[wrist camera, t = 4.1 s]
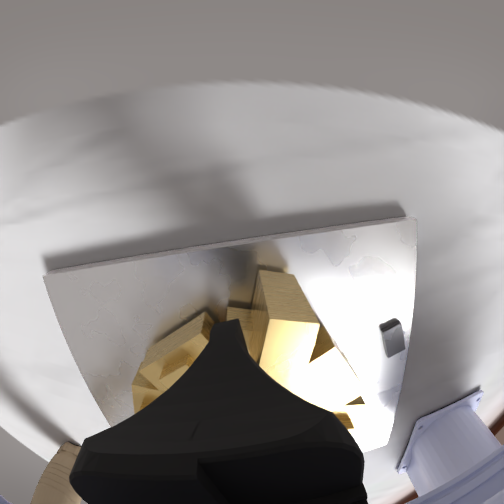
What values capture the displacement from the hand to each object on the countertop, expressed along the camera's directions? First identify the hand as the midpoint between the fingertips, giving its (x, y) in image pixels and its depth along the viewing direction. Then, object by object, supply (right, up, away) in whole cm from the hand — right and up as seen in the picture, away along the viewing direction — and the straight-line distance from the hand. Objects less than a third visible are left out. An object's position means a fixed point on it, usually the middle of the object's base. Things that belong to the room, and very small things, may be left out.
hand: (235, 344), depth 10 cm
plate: (0, -5, +6) cm, 8 cm away
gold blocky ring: (+1, -4, +5) cm, 7 cm away
